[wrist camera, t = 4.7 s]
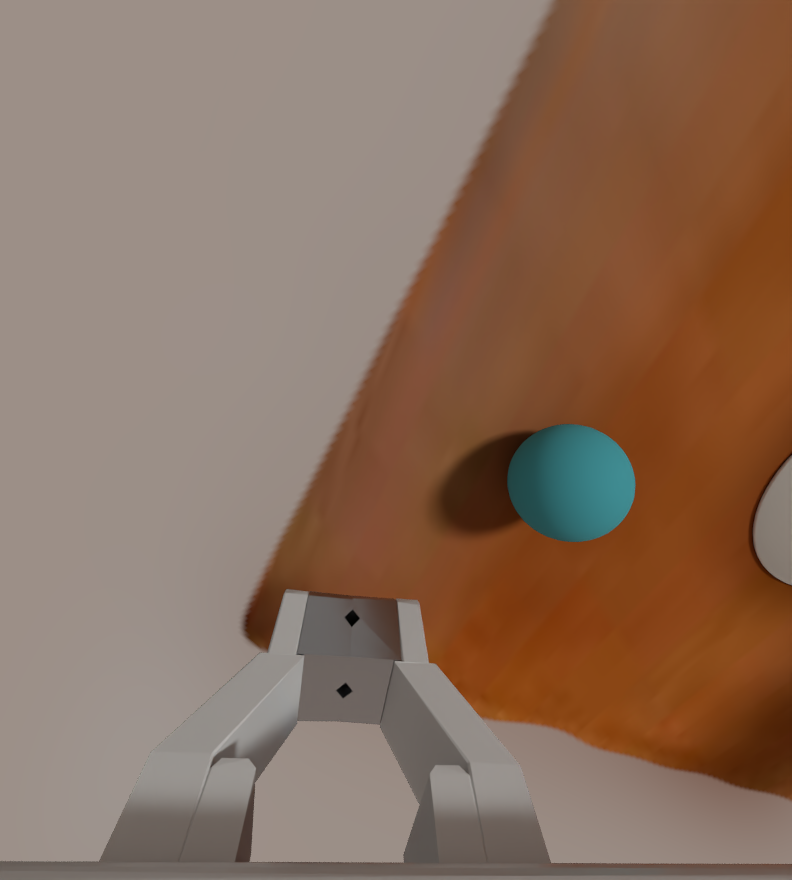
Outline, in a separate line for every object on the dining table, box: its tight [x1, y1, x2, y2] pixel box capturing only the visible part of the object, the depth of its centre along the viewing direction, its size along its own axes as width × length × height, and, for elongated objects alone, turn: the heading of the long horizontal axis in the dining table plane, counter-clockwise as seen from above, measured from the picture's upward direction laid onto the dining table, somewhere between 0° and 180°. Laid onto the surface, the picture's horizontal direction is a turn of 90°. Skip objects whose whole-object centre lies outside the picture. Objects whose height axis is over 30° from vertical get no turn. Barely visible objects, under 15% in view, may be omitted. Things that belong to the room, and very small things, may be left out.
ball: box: [507, 424, 635, 542], centre depth 19 cm, size 6×6×6 cm
